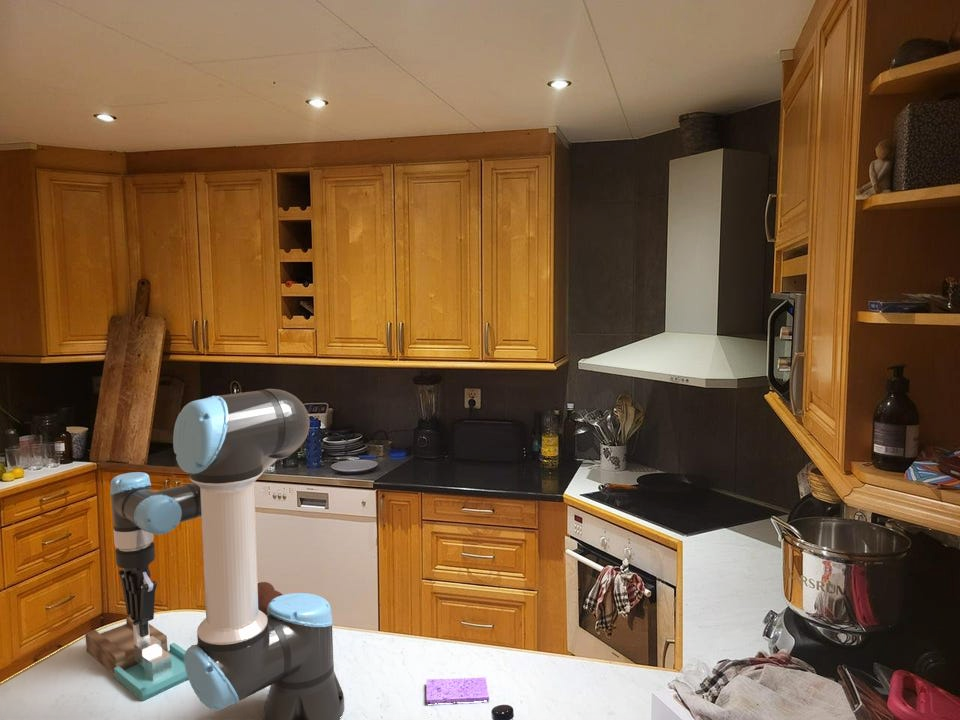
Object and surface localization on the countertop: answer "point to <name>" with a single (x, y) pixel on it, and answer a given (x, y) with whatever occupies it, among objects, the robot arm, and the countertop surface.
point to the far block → (145, 648)
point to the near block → (157, 664)
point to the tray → (148, 688)
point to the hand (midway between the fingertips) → (142, 648)
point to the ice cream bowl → (266, 595)
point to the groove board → (118, 645)
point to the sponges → (456, 690)
